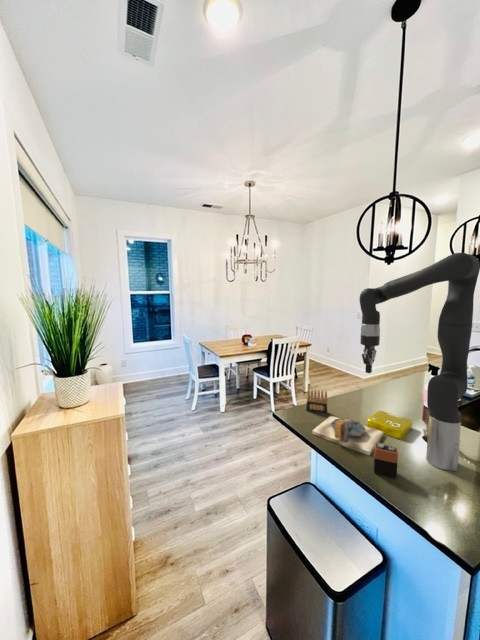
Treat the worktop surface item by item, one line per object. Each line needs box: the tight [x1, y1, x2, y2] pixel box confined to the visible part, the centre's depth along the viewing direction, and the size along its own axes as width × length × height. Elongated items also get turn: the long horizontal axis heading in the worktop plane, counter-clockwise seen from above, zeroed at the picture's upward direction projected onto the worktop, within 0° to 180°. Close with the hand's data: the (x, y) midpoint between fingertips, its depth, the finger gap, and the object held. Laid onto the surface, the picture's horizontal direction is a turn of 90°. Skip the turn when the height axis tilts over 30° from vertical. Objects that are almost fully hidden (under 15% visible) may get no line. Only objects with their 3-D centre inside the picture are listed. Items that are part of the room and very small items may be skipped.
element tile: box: [367, 410, 413, 440], centre depth 123 cm, size 15×15×5 cm
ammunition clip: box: [305, 388, 328, 414], centre depth 141 cm, size 11×2×12 cm, turn 69°
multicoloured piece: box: [331, 418, 365, 439], centre depth 115 cm, size 18×13×6 cm
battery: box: [373, 442, 399, 479], centre depth 92 cm, size 4×7×10 cm, turn 65°
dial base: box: [311, 415, 385, 457], centre depth 117 cm, size 24×20×8 cm
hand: (368, 372), depth 118 cm, fingers closed
